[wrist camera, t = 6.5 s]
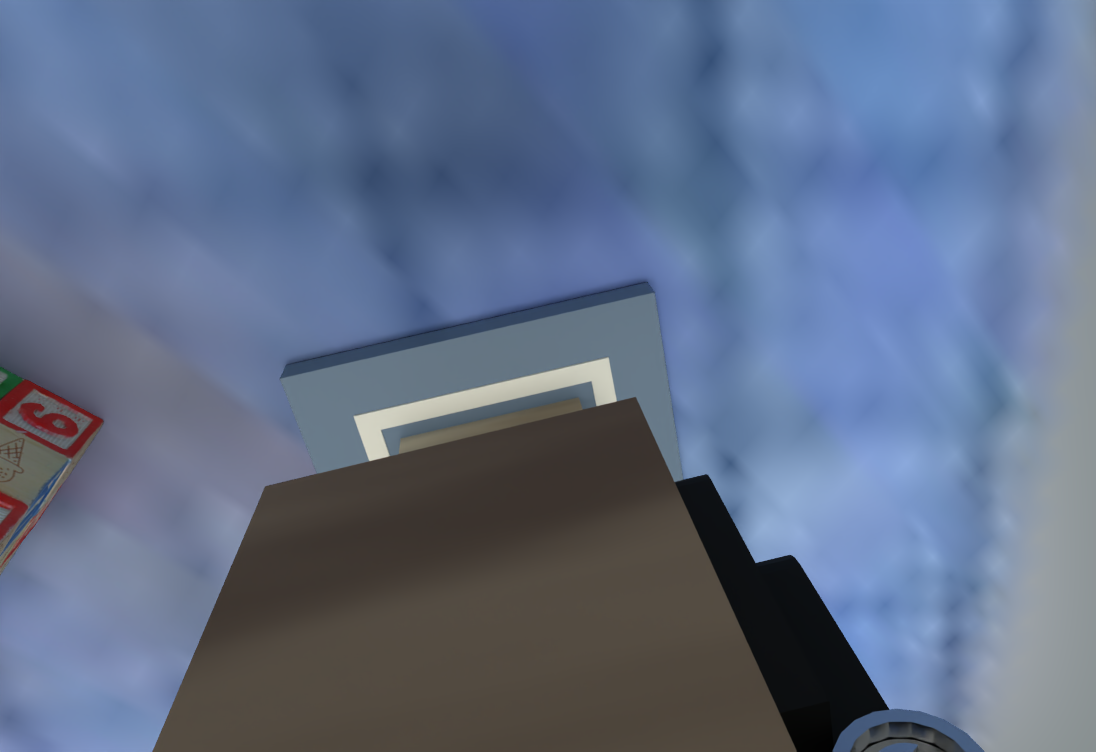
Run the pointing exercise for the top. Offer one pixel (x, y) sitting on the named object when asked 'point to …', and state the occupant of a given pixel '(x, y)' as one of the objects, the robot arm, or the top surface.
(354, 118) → the top surface
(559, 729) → the walnut block
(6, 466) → the stack of blocks
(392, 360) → the board
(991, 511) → the top surface
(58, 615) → the top surface
